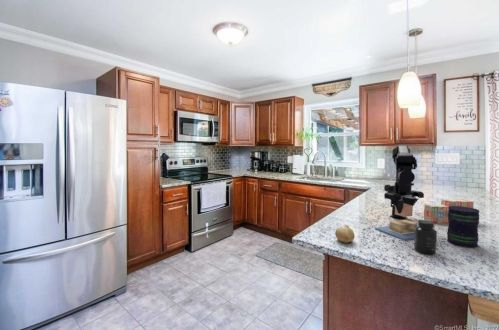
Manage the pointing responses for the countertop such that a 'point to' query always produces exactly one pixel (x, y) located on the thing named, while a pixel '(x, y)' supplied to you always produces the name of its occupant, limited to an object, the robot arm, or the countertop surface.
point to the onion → (345, 234)
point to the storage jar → (463, 226)
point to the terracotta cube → (405, 210)
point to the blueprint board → (401, 236)
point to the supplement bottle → (425, 238)
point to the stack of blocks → (443, 209)
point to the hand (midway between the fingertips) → (403, 212)
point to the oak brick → (402, 226)
